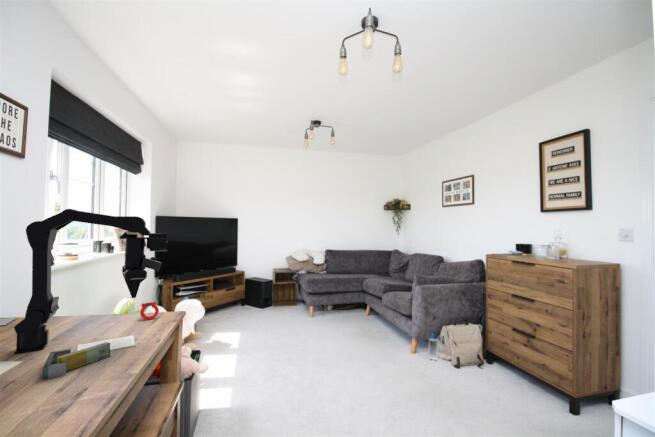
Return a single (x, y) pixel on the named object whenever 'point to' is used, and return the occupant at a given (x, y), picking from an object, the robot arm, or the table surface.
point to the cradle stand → (55, 365)
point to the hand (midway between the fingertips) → (132, 295)
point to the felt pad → (112, 343)
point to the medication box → (85, 356)
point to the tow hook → (144, 308)
